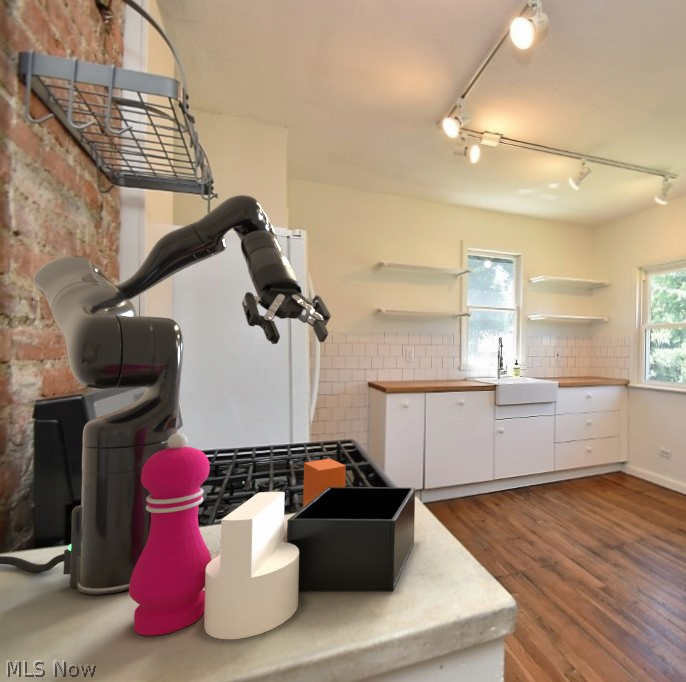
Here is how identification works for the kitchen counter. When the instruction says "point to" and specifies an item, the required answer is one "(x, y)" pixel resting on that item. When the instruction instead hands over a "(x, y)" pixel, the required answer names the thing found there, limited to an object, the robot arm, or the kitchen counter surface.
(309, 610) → the kitchen counter surface
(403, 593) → the kitchen counter surface
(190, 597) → the pepper mill
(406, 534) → the bin
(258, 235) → the robot arm
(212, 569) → the cylinder with rectangular tab
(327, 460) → the orange rectangular block
